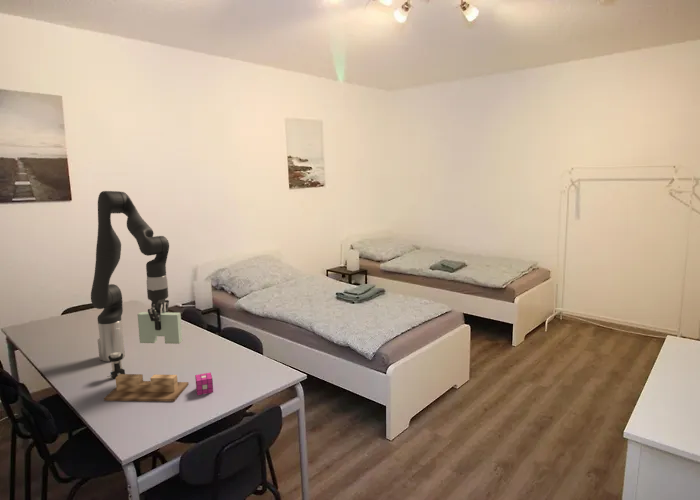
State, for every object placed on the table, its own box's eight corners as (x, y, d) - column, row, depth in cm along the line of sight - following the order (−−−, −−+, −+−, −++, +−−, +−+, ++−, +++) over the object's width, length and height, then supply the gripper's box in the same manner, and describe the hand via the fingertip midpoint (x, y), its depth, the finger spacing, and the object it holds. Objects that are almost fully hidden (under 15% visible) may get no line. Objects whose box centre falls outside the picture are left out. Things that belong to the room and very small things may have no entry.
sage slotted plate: (139, 342, 176) (137, 314, 173) (143, 340, 178) (141, 311, 176) (179, 343, 175) (177, 315, 173) (182, 341, 178) (180, 312, 176)
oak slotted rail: (104, 400, 159) (102, 383, 158) (123, 383, 172) (121, 368, 171) (174, 401, 159) (173, 384, 158) (188, 384, 171) (187, 369, 170)
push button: (110, 382, 174) (108, 358, 172) (104, 378, 177) (102, 355, 175) (127, 376, 179) (125, 352, 177) (121, 372, 182) (118, 349, 180)
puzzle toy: (197, 395, 163) (196, 381, 162) (196, 388, 168) (195, 374, 167) (213, 392, 165) (212, 378, 164) (211, 386, 171) (210, 372, 170)
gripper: (156, 282, 180) (159, 322, 183) (139, 291, 166) (142, 334, 169) (174, 282, 180) (176, 322, 183) (158, 291, 166) (161, 335, 169)
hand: (160, 328), depth 176 cm, fingers closed on sage slotted plate, 3 cm apart
